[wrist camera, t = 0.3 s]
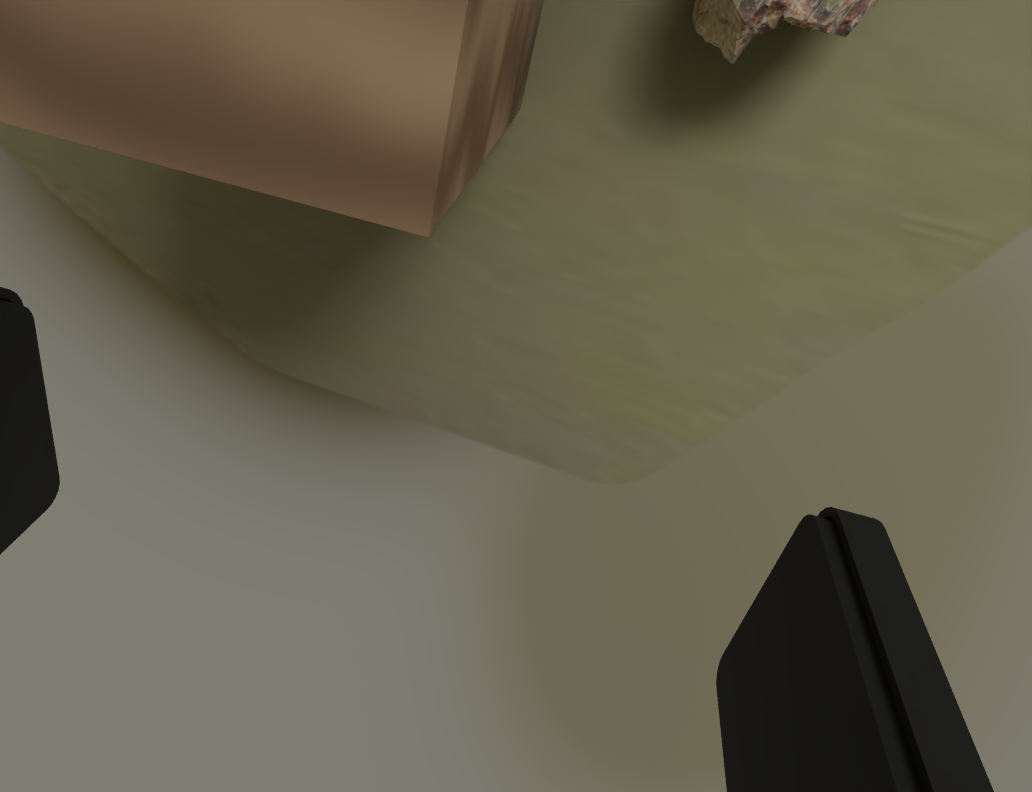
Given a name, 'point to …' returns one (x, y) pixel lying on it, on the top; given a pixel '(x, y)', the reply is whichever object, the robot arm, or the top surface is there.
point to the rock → (771, 19)
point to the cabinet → (280, 91)
